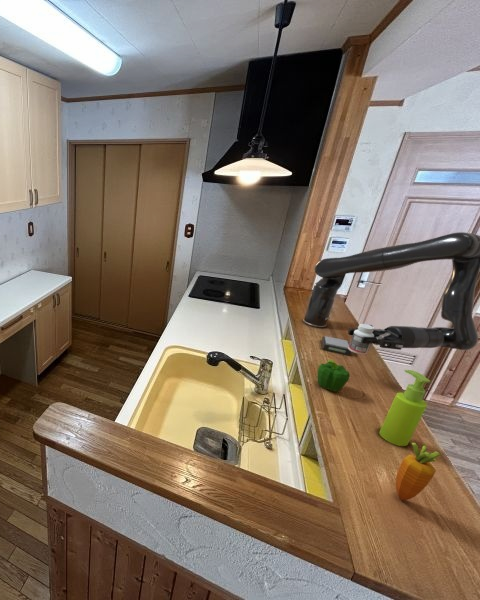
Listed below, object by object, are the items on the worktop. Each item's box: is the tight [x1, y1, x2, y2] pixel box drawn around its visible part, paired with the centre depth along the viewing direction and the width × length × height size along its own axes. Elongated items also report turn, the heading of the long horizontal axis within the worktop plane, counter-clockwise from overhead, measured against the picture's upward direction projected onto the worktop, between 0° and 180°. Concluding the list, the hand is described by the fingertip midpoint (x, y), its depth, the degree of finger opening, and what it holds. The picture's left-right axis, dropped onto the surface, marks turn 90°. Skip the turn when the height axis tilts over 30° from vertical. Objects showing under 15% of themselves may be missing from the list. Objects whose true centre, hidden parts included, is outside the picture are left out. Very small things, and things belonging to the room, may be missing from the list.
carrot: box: [395, 442, 441, 501], centre depth 69 cm, size 5×5×15 cm
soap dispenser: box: [379, 369, 431, 447], centre depth 86 cm, size 6×7×20 cm
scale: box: [320, 335, 352, 357], centre depth 136 cm, size 9×9×3 cm
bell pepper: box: [316, 359, 350, 392], centre depth 109 cm, size 8×8×10 cm
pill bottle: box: [348, 323, 375, 356], centre depth 112 cm, size 5×5×10 cm
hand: (355, 335), depth 111 cm, fingers closed on pill bottle, 5 cm apart
